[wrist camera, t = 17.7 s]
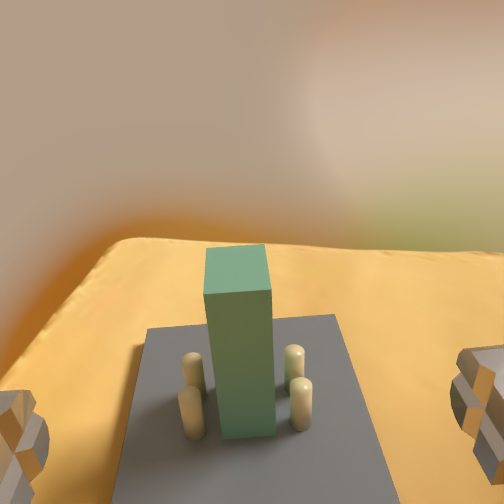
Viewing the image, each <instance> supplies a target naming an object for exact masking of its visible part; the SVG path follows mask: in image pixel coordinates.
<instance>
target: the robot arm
mask: <svg viewBox="0 0 504 504" xmlns="http://www.w3.org/2000/svg"><path fill="white" fill-rule="evenodd" d="M456 364H457V366H458V368H459V369H460V371H461V373H460V374H459V375H457V376H456V377H455V378H454V379H453V380H452V384H451V389H450V398H451V406H452V410H453V413H454V415H455V418H456V420H457V422H458V424H459V426H460V428H461V430H462V431H464V432H465V433H467V434H468V435H470V436H471V437H472V438H474V439H475V444H474V448H473V452H474V454H475V456H476V458H477V460H478V461H479V463H480V465H481V467H482V469H483V471H484V472H485V474H486V476H487V478H488V480H489V482H490V483H491V485H500V484H504V345H495V346H485V347H475V348H466V349H463V350H462V351H461V352H460V353H459V355H458V359H457V363H456ZM35 405H36V401H35V399H34V397H33V395H32V393H31V392H30V391H29V390H13V391H0V504H31V501H32V498H33V495H34V491H33V489H32V486H31V483H30V482H31V481H32V480H33V479H34V478H35V477H36V476H37V475H38V474H39V473H40V472H41V471H42V470H43V468H44V465H45V462H46V459H47V456H48V449H49V440H50V438H49V432H48V427H47V424H46V422H45V420H44V418H42V417H41V416H39V415H37V414H36V413H34V412H33V409H34V407H35Z"/></svg>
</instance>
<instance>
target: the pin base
mask: <svg viewBox="0 0 504 504" xmlns="http://www.w3.org/2000/svg"><path fill="white" fill-rule="evenodd" d="M272 321H273V351H274V380H275V409H276V435H275V436H263V437H250V438H238V439H225V440H222V432H221V424H220V417H219V409H218V402H217V394H216V386H215V379H214V371H213V364H212V356H211V348H210V341H209V333H208V326H207V324H201V325H189V326H176V327H163V328H151V329H147V334H146V339H145V343H144V348H143V353H142V358H141V362H140V367H139V372H138V377H137V381H136V386H135V391H134V396H133V400H132V405H131V410H130V415H129V419H128V424H127V429H126V434H125V438H124V443H123V448H122V453H121V457H120V462H119V467H118V472H117V476H116V481H115V486H114V491H113V495H112V500H111V504H400V501H399V498H398V495H397V492H396V490H395V487H394V484H393V481H392V478H391V475H390V472H389V469H388V467H387V464H386V461H385V458H384V455H383V452H382V449H381V446H380V443H379V441H378V438H377V435H376V432H375V429H374V426H373V423H372V420H371V418H370V415H369V412H368V409H367V406H366V403H365V400H364V397H363V395H362V392H361V389H360V386H359V383H358V380H357V377H356V374H355V371H354V369H353V366H352V363H351V360H350V357H349V354H348V351H347V348H346V346H345V343H344V340H343V337H342V334H341V331H340V328H339V325H338V322H337V320H336V317H335V314H329V315H316V316H303V317H290V318H278V319H272Z"/></svg>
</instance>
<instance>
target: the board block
mask: <svg viewBox="0 0 504 504" xmlns="http://www.w3.org/2000/svg"><path fill="white" fill-rule="evenodd" d="M203 295H204V303H205V310H206V318H207V326H208V333H209V341H210V348H211V356H212V364H213V371H214V379H215V386H216V394H217V402H218V409H219V417H220V424H221V432H222V440H225V439H238V438H250V437H263V436H275V435H276V409H275V380H274V351H273V321H272V292H271V283H270V277H269V271H268V264H267V258H266V252H265V245H264V244H259V245H245V246H231V247H217V248H206V262H205V277H204V292H203Z"/></svg>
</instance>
